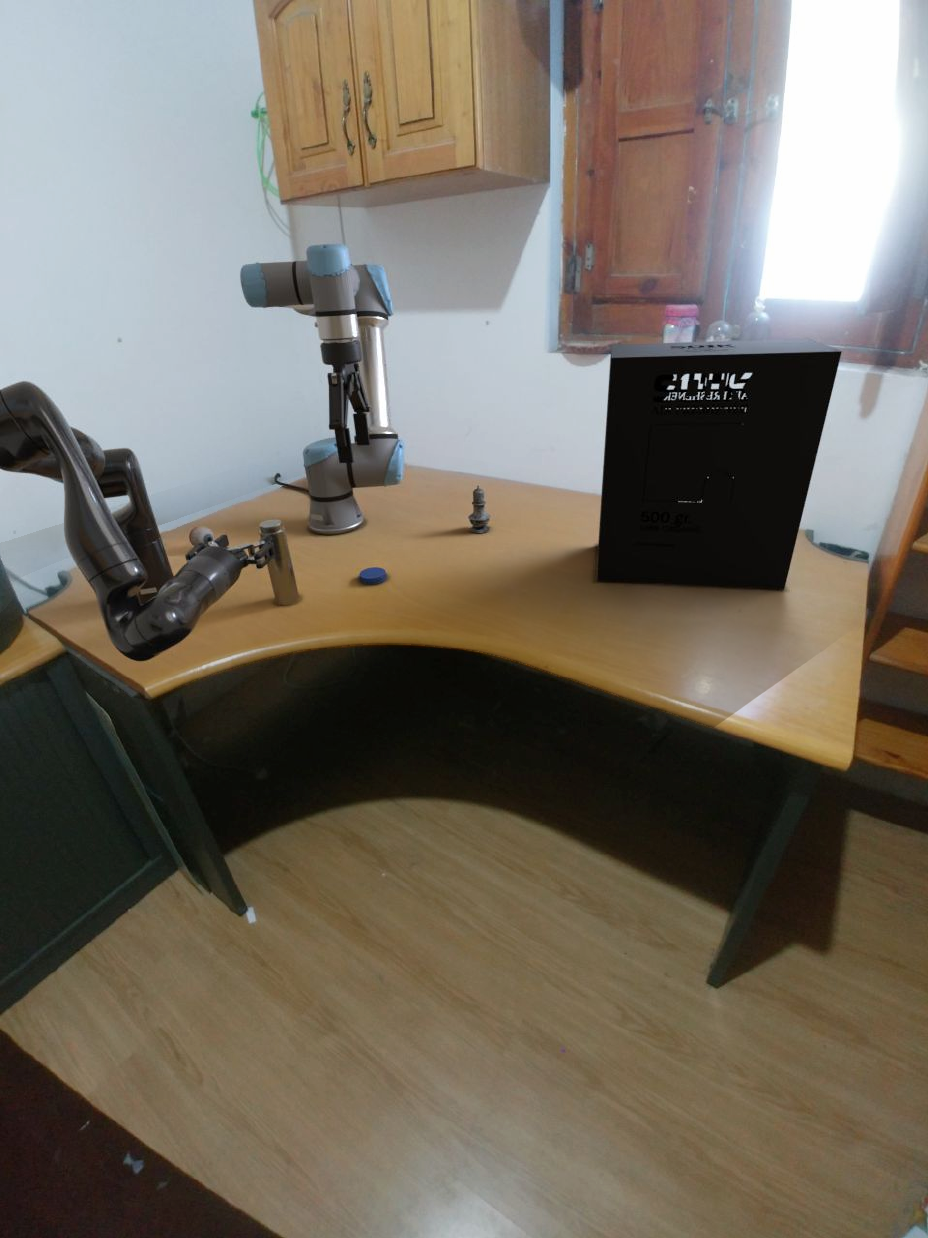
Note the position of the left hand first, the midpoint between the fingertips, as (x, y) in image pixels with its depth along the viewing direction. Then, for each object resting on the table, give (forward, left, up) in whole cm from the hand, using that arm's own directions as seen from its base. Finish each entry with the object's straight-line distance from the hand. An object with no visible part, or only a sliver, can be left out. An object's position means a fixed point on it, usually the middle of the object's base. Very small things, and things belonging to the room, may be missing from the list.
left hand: (247, 539), depth 113 cm
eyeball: (-33, +39, -19) cm, 54 cm away
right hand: (+16, +21, +10) cm, 29 cm away
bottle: (0, +11, -19) cm, 22 cm away
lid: (+17, +21, -18) cm, 32 cm away
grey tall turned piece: (+39, +50, -19) cm, 66 cm away
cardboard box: (+87, +28, -19) cm, 93 cm away
